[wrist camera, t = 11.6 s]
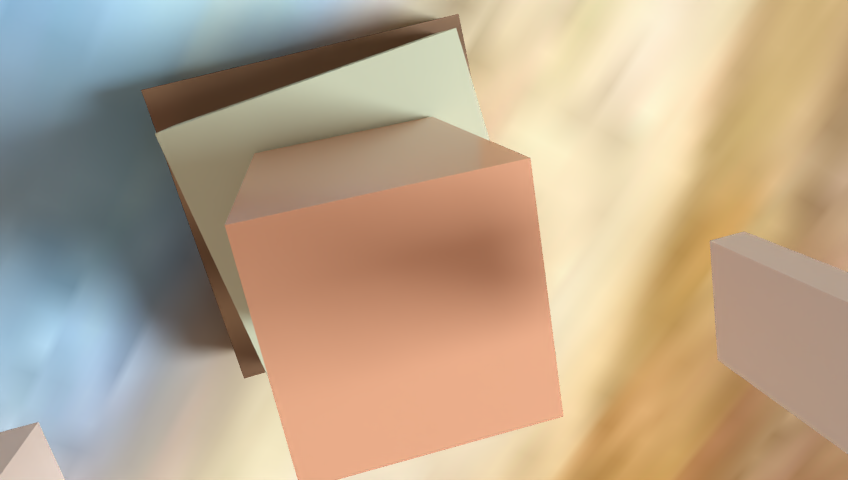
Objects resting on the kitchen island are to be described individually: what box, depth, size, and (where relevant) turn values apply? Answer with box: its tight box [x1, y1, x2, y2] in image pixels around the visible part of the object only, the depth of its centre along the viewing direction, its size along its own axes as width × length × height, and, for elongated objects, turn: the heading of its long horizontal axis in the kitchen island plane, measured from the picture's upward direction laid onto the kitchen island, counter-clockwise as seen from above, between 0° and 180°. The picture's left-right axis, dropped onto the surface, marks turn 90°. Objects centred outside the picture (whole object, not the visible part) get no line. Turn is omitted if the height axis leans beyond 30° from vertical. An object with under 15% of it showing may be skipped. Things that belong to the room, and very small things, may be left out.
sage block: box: [155, 28, 490, 376], centre depth 28 cm, size 12×12×4 cm
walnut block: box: [141, 14, 471, 378], centre depth 31 cm, size 14×14×4 cm
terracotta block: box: [225, 117, 563, 480], centre depth 20 cm, size 7×7×11 cm
